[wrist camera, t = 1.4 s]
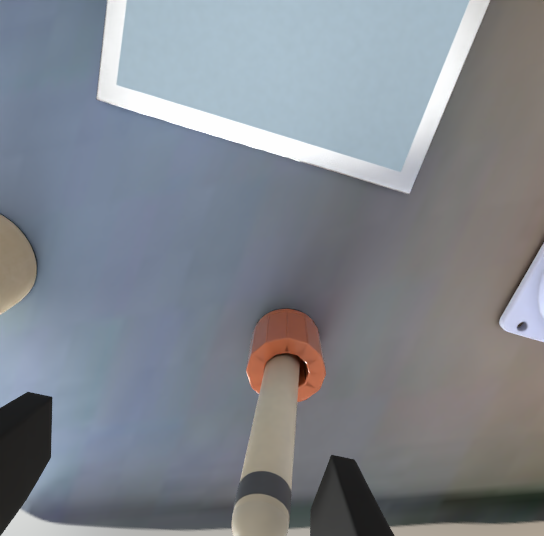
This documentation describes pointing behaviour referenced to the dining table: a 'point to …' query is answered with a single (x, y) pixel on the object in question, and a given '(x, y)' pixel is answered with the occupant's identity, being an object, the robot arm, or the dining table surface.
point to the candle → (14, 265)
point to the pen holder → (287, 349)
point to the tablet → (296, 74)
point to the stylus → (269, 454)
